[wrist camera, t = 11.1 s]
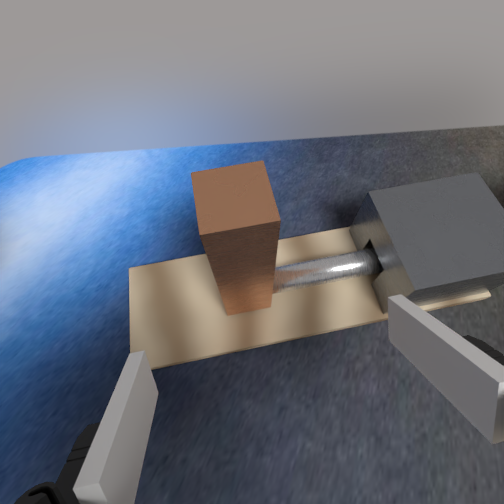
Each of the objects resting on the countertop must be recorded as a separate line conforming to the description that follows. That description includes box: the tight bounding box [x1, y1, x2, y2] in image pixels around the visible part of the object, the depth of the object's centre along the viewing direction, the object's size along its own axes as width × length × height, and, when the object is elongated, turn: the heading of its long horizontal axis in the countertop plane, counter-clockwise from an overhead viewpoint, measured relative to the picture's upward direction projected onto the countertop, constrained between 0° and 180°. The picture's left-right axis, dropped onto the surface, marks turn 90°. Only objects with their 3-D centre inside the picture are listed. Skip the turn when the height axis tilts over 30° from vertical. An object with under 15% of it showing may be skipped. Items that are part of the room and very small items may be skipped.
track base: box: [129, 227, 491, 370], centre depth 30 cm, size 34×10×1 cm, turn 101°
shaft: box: [191, 161, 384, 316], centre depth 23 cm, size 21×4×14 cm, turn 101°
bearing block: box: [349, 172, 504, 314], centre depth 27 cm, size 10×9×6 cm
